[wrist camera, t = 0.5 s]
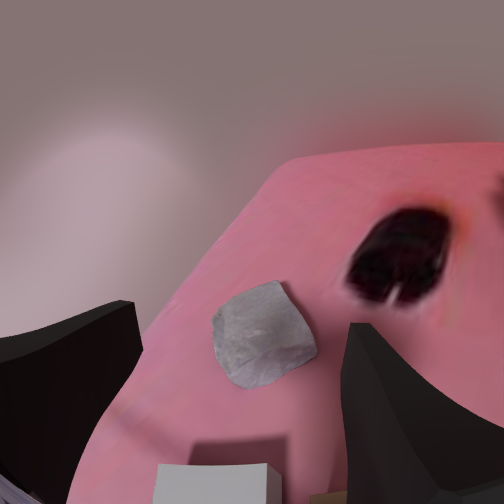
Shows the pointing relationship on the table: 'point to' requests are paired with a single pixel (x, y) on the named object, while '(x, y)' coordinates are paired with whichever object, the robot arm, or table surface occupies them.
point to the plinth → (217, 484)
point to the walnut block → (329, 498)
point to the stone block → (261, 336)
